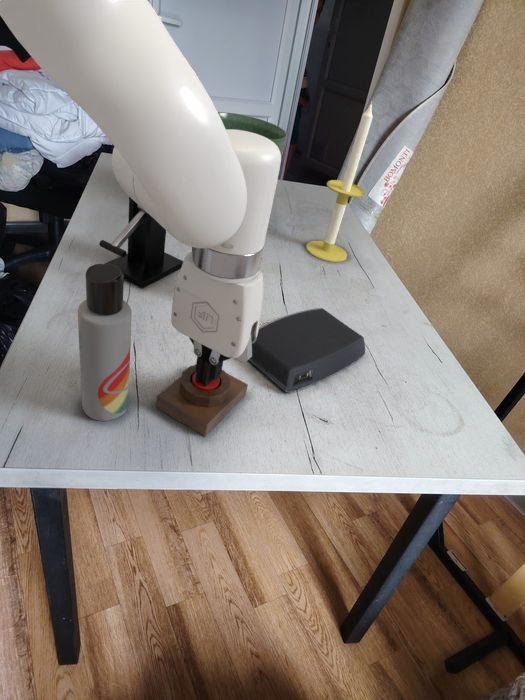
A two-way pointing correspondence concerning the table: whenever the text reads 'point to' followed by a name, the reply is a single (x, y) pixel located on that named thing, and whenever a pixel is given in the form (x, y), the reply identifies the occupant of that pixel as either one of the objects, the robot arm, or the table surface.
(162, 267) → the lever bracket
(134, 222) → the lever handle
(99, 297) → the lotion bottle
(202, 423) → the button block
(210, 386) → the button
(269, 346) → the hard drive
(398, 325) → the table surface
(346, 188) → the candle
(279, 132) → the planter
